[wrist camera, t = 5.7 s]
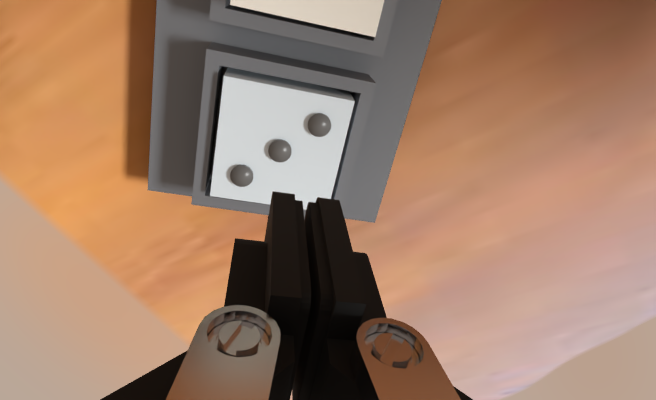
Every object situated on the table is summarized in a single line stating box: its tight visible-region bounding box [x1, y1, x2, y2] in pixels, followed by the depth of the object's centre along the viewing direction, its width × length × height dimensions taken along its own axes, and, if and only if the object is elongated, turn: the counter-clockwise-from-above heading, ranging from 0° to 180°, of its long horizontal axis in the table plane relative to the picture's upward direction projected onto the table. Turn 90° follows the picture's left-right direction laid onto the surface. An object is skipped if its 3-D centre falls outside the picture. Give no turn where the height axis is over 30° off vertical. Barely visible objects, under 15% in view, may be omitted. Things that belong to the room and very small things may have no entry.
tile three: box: [210, 67, 355, 210], centre depth 23 cm, size 6×6×2 cm
